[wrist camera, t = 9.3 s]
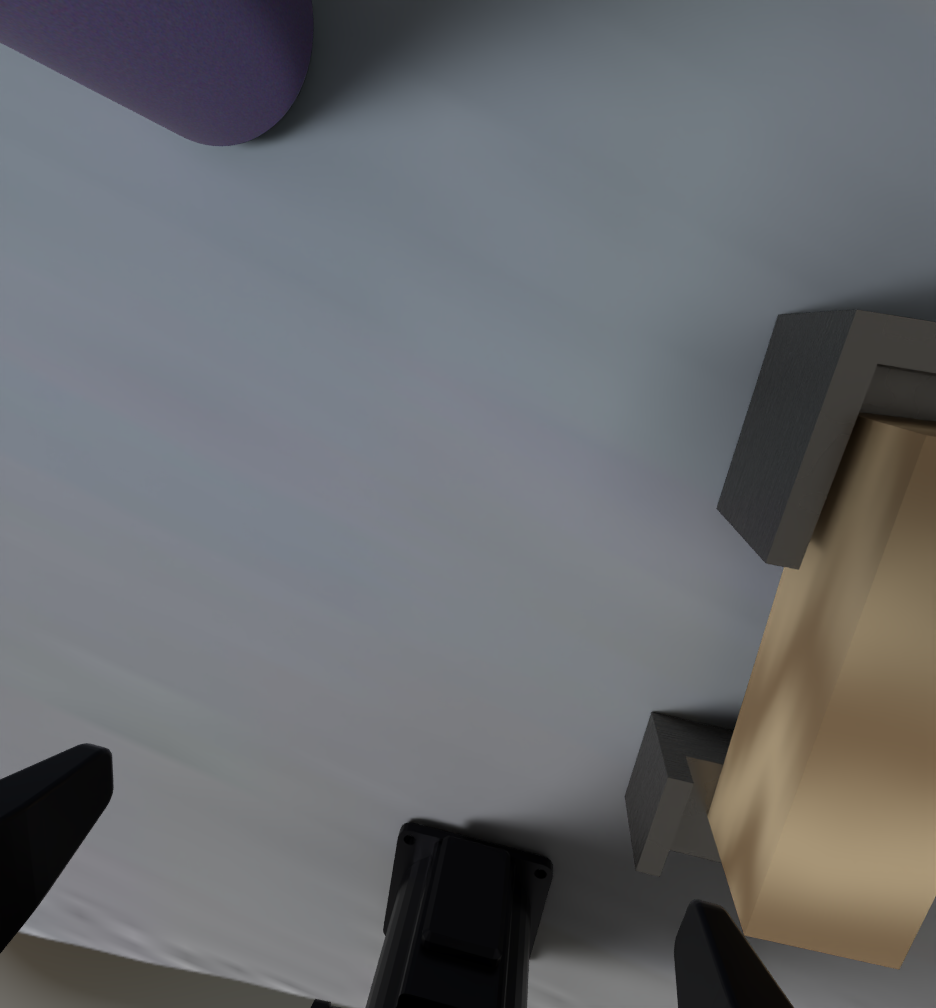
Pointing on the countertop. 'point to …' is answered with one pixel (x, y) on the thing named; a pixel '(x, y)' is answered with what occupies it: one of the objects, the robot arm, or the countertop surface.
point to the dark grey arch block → (674, 791)
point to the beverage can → (175, 57)
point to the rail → (844, 719)
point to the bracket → (819, 417)
